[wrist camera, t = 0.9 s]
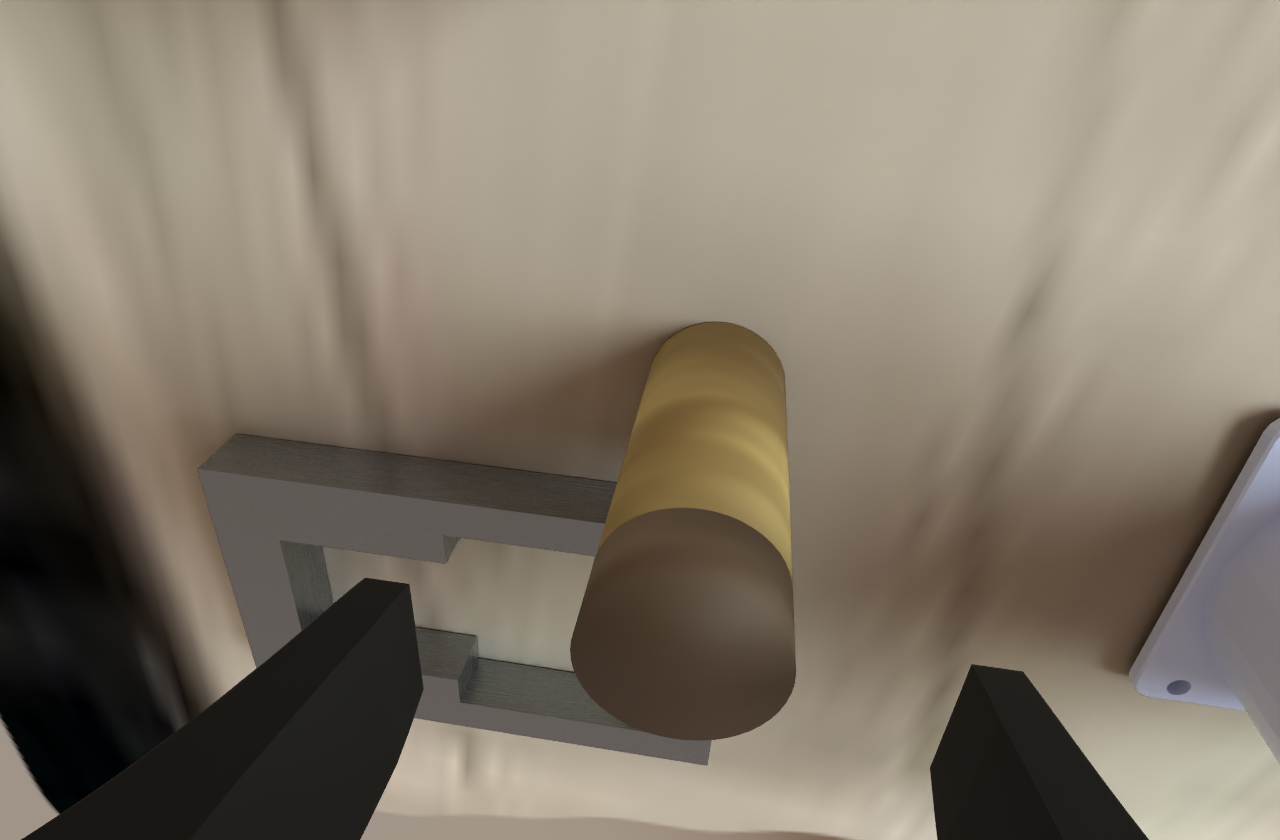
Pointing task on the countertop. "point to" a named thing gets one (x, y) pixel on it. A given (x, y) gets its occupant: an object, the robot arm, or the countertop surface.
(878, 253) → the countertop surface
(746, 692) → the peg
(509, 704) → the keyhole plate
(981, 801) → the robot arm
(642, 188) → the countertop surface
